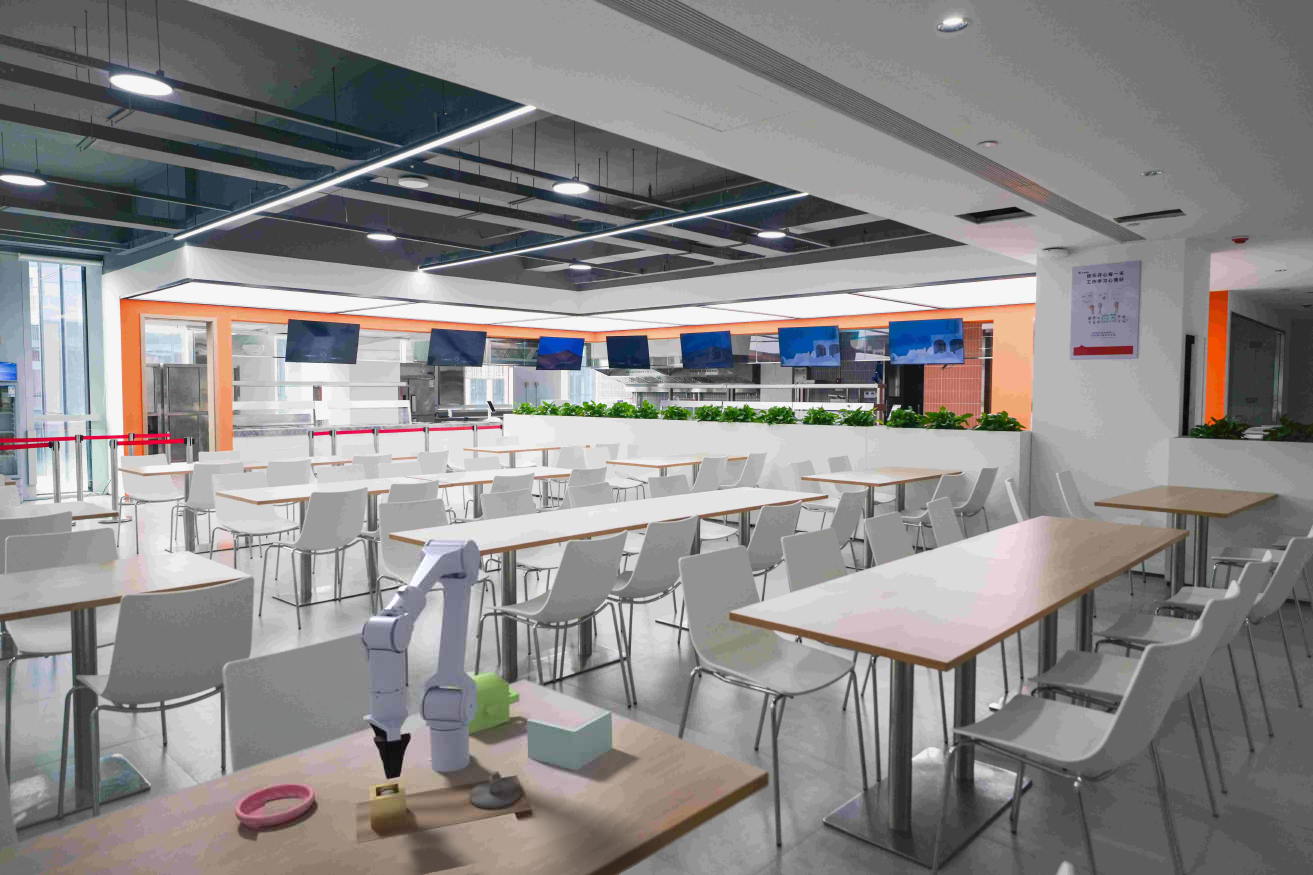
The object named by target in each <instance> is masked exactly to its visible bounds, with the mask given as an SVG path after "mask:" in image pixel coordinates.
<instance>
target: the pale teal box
mask: <svg viewBox="0 0 1313 875" xmlns="http://www.w3.org/2000/svg"><path fill="white" fill-rule="evenodd" d="M612 719H613V714H612V711H611V710H607V711H606V712H603V713H602V714H600V715H598V716H596V717H594V718H593V719H591V720H589V721H587V722H585V723H583V724H581V725H580V726H578V727H576V728H572V727H571V728H570V727H566V726H564V725H558V724H554V723H550V722H546V721H543V720H538V719H534V718H529V719H527V720H526V729H527V730H526V732H527V736H526V737H527V758H529V759H532V760H536V761H538V762H543V763H546V764H550V765H553V766H557V767H560V768H564V769H566V770H567V769H568V770H570V771H577V770H579V769H582V767H584V766H586V765H587V764H590V762H592V761H594V760H596V759H597V758H599V757H600V756H602V755H603V754H605V753H608V752H609V751H610V750H612V749H613V722H612V721H613V720H612Z"/></svg>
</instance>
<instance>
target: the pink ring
mask: <svg viewBox="0 0 1313 875" xmlns="http://www.w3.org/2000/svg"><path fill="white" fill-rule="evenodd" d="M279 798H281V799H282V798H297V799H300V800H303V801H304V802H302V803H301V804H299V805H297V806H295V807H293V808H290V809H288V810H285V811H282V812H279V813H278V812H277V813H274V814H269V815H268V814H267V815H264V810H265V807H266V802H267V801H271V800H274V799H279ZM315 798H316V792H315V789H314V788H313V786H310V785H308V784H306V783H297V782H294V783H293V782H291V783H290V782H289V783H280V784H279V783H278V784H275V785H271V786H267V787H264V788H260V789H258V790H256V791H253V792H252V793H250V794H248V795H246V796H245V797H243V798H242V799H240V800H239V802H238V803H237V804H236V806H235V809H234V813H235V817H236V819H237V820H238V821H239V822H241V823H242V824H244V825H245V826H246V827H248V828H249V829H251V828H252V830H255V829H256V831H259V830H260V828H261V827H268V826H275V825H278V824H283V823H286V822H289V821H291V820H295V819H296V818H298V817H299V816H301V815H302V814H304V813H305V812H307V811H308V810H309V809H310V808H311V806H312V804H313V802H314V801H315Z"/></svg>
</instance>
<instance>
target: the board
mask: <svg viewBox="0 0 1313 875" xmlns="http://www.w3.org/2000/svg"><path fill="white" fill-rule="evenodd" d="M389 794H394V791H392V790H387V791H384V792H382V793H381V796H383V795H389ZM510 814H514V815H515V817H516V818H517V819H520V818H524V817H527V816H528V817H529V816H533V808H532V805H531V804H530V801H529V799H528V797H527V794H526V792H525V790H524V788H523V785H522V783H521V781H520V779H519V777H518V775H511V776H505V777H502V774H500V771H497V770H495V771H492V772H491V773H490V775H489V779H487V780H482V781H476V782H471V783H464V784H460V785H458V784H457V785H453V786H447V787H442V788H437V789H430V790H425V791H419V792H413V793H407V794H406V819H407V821H403V822H398V823H392V824H387V825H382V826H376V827H371V817H370V800H368V801H363V802H356V844H360V843H365V842H368V841H369V842H370V841H375V840H381V839H385V838H386V839H387V838H391V837H395V836H401V835H406V834H413V833H417V832H422V831H428V830H432V829H436V828H442V827H448V826H452V825H459V824H464V823H469V822H474V821H481V820H485V819H488V818H489V819H490V818H495V817H500V816H507V815H510Z"/></svg>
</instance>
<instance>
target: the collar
mask: <svg viewBox="0 0 1313 875" xmlns="http://www.w3.org/2000/svg"><path fill="white" fill-rule="evenodd" d="M368 788H369V801H370V817H371V827H376V826H382V825H387V824H392V823H398V822H403V821H407V819H406V795H407V794H406V787H405V780H404V779H402V780H397V781H391V782H384V783H378V784H372V785H369V787H368ZM387 790H392V791H394V794H389V795H383V796H381V793H382V792H384V791H387Z"/></svg>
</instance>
